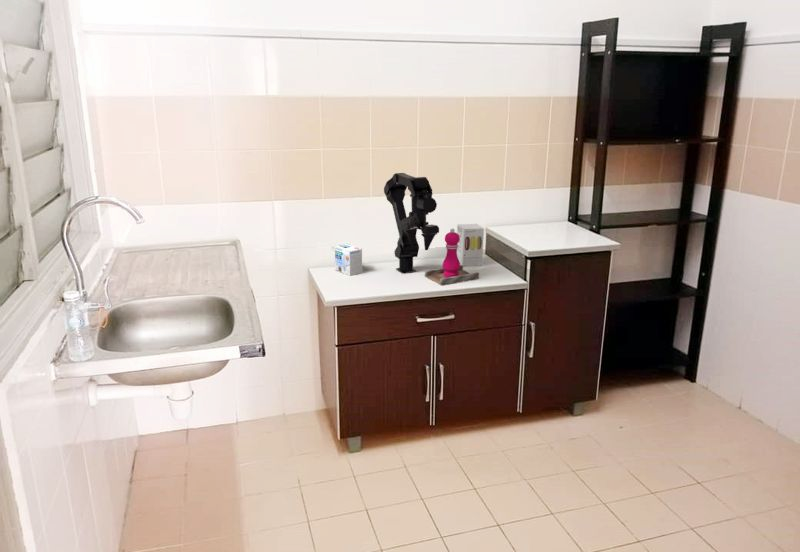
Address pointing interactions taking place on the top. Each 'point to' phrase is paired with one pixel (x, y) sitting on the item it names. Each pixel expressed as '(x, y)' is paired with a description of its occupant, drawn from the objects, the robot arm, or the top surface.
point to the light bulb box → (348, 259)
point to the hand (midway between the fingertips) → (419, 248)
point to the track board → (439, 278)
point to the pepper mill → (451, 255)
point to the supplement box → (470, 244)
